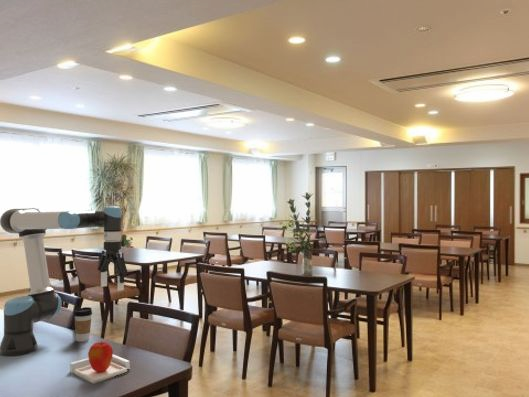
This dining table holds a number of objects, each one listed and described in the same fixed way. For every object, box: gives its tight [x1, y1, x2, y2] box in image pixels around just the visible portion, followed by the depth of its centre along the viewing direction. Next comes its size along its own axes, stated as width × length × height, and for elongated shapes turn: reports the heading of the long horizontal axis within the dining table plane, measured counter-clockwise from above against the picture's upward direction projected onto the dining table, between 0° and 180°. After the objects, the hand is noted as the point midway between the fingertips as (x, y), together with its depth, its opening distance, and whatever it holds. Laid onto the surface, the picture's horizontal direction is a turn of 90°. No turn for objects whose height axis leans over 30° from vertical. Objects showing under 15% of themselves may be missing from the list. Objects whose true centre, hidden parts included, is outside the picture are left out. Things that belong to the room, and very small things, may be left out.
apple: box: [87, 341, 114, 372], centre depth 180 cm, size 9×9×12 cm
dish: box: [73, 362, 128, 384], centre depth 180 cm, size 14×14×2 cm
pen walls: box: [69, 353, 131, 374], centre depth 183 cm, size 16×17×4 cm
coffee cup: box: [73, 306, 93, 343], centre depth 223 cm, size 8×8×15 cm
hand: (112, 288), depth 205 cm, fingers open, 13 cm apart
